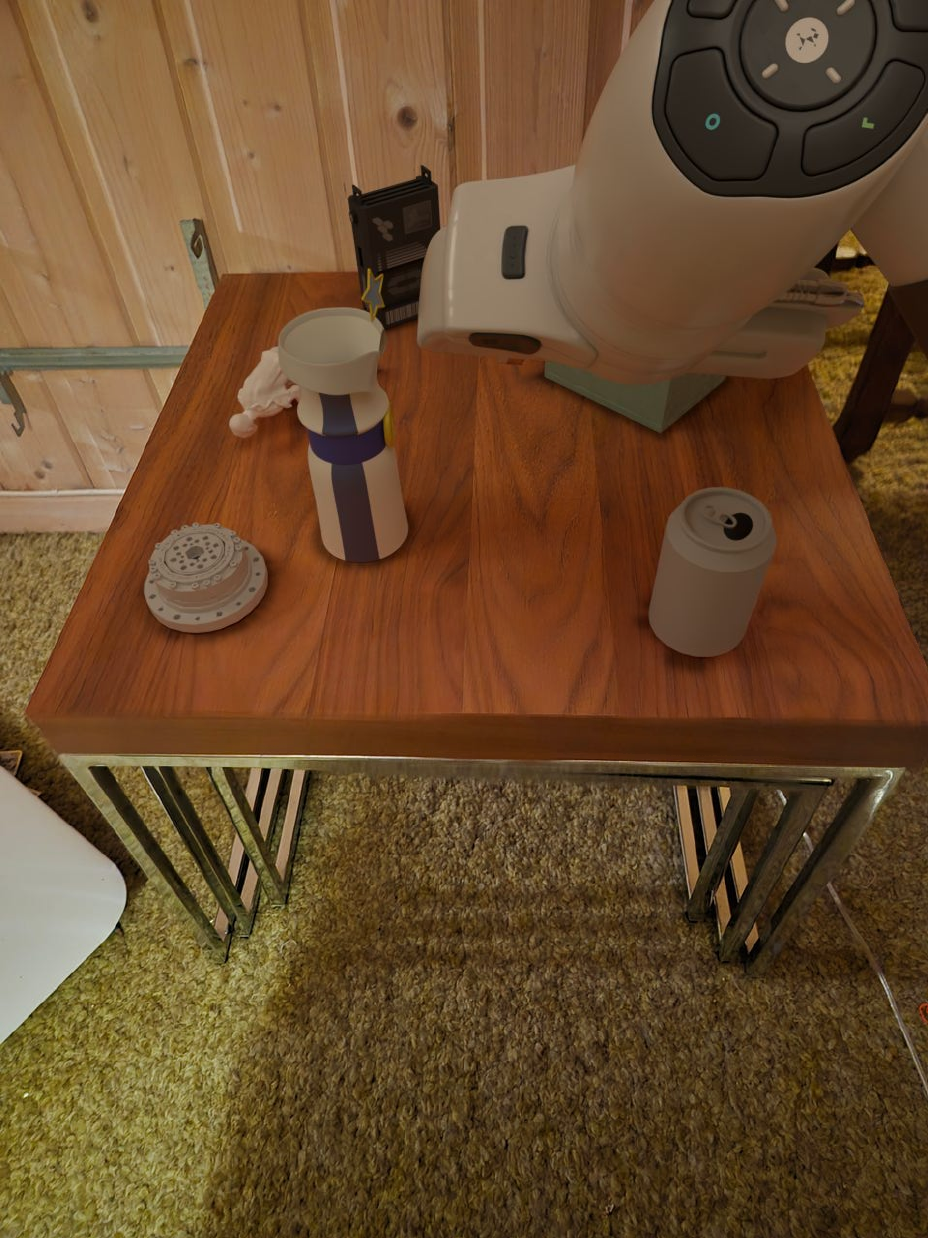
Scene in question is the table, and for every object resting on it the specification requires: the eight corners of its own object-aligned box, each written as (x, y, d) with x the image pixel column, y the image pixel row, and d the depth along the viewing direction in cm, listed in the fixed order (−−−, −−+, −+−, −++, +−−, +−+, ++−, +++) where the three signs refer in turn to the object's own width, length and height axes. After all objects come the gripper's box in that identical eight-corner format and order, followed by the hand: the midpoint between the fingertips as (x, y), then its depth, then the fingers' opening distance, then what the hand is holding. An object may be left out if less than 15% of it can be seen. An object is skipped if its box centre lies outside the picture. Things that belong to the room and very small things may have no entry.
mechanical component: (284, 607, 69) (249, 532, 75) (273, 571, 65) (237, 495, 71) (164, 652, 66) (138, 571, 72) (146, 617, 63) (120, 534, 69)
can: (726, 678, 63) (764, 569, 54) (632, 641, 65) (653, 531, 56) (756, 610, 67) (796, 498, 58) (666, 578, 69) (691, 466, 60)
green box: (725, 379, 86) (746, 290, 79) (660, 433, 81) (676, 344, 74) (610, 329, 93) (620, 243, 86) (544, 376, 88) (548, 289, 80)
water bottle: (413, 494, 77) (384, 222, 58) (412, 562, 72) (378, 286, 52) (324, 498, 77) (265, 227, 58) (316, 565, 72) (247, 292, 52)
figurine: (322, 396, 94) (204, 430, 80) (328, 324, 90) (204, 346, 76) (373, 415, 92) (260, 453, 78) (381, 341, 88) (263, 368, 74)
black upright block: (434, 288, 100) (425, 155, 88) (453, 305, 98) (446, 170, 86) (356, 315, 97) (335, 180, 85) (373, 333, 94) (355, 197, 83)
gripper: (890, 219, 36) (766, 317, 50) (418, 178, 36) (424, 289, 49) (876, 366, 37) (757, 423, 50) (408, 329, 36) (417, 397, 50)
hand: (589, 356), depth 50 cm, fingers open, 8 cm apart
